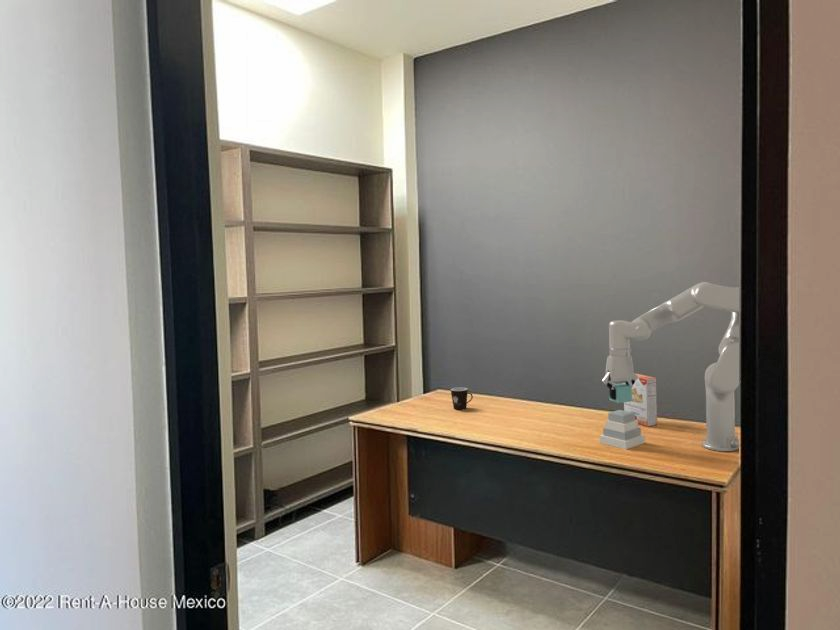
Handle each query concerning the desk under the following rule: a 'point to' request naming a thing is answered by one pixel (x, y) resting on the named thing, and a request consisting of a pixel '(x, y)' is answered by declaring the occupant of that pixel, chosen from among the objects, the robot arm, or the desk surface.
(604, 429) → the tower
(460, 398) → the coffee mug
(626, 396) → the small aqua cube
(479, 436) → the desk surface
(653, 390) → the cracker box
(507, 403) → the desk surface
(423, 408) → the desk surface
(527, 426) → the desk surface
